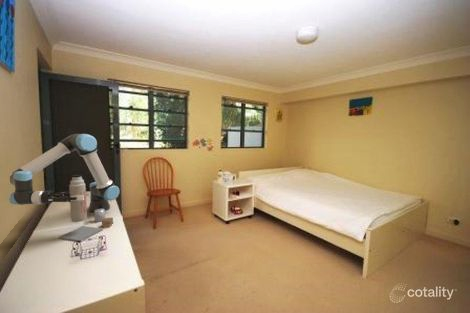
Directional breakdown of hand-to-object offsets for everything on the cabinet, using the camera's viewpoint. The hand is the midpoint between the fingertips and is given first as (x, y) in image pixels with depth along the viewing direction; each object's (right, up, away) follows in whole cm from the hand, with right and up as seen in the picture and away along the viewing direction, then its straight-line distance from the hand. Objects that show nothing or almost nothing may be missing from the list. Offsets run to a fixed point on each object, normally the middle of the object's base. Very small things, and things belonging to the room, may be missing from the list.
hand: (86, 195), depth 133 cm
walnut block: (+5, -23, +14) cm, 27 cm away
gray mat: (-4, -24, +1) cm, 24 cm away
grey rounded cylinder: (-6, -22, +22) cm, 31 cm away
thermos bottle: (-5, -15, +1) cm, 16 cm away
